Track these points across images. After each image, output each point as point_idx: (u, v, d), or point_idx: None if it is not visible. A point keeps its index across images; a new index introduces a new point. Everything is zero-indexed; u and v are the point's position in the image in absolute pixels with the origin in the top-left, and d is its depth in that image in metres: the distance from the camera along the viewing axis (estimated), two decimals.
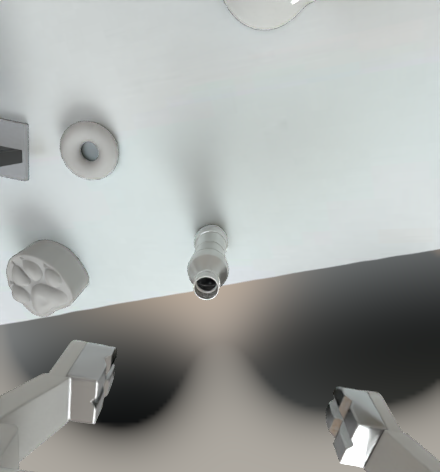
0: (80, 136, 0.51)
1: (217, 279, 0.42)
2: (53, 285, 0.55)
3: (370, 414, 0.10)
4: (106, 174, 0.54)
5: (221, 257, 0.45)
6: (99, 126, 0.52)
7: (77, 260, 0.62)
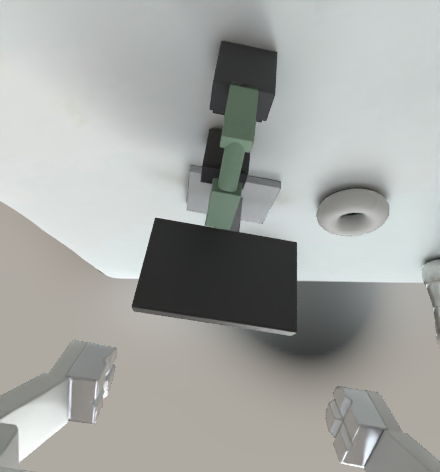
0: (353, 212, 0.43)
1: None
2: None
3: (370, 414, 0.10)
4: None
5: None
6: (380, 201, 0.41)
7: None
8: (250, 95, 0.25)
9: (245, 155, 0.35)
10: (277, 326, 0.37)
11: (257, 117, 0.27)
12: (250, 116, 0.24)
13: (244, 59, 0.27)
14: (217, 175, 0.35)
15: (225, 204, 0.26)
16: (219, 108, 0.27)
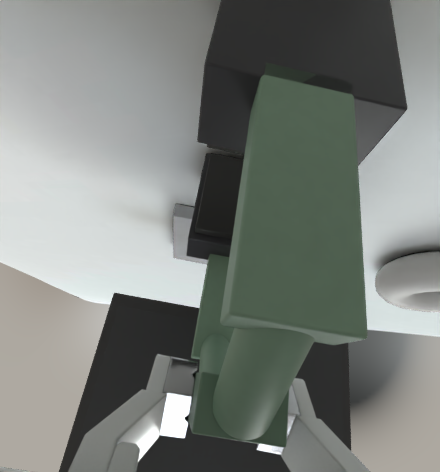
0: None
1: None
2: None
3: None
4: None
5: None
6: None
7: None
8: (330, 113, 0.07)
9: None
10: None
11: None
12: (340, 203, 0.06)
13: None
14: (218, 251, 0.18)
15: None
16: (224, 140, 0.10)
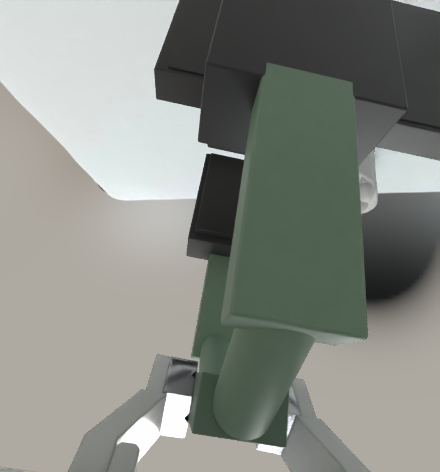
0: None
1: None
2: (366, 201, 0.43)
3: None
4: None
5: None
6: None
7: (373, 151, 0.45)
8: (330, 113, 0.07)
9: None
10: None
11: None
12: (341, 203, 0.06)
13: None
14: (218, 251, 0.18)
15: None
16: (225, 140, 0.10)
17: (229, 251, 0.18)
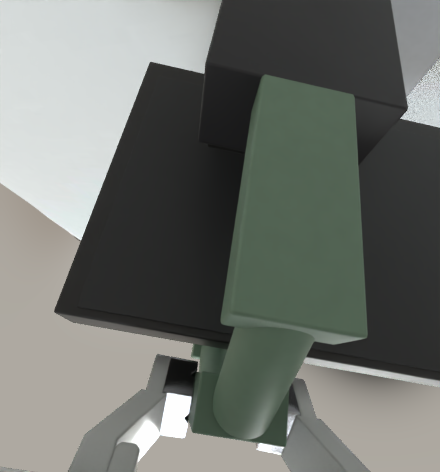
0: None
1: None
2: None
3: None
4: None
5: None
6: None
7: None
8: (330, 113, 0.07)
9: None
10: None
11: None
12: (340, 202, 0.06)
13: None
14: None
15: None
16: (225, 140, 0.10)
17: None
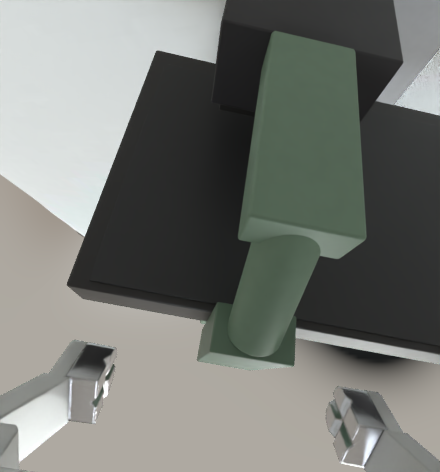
0: None
1: None
2: None
3: (370, 414, 0.10)
4: None
5: None
6: None
7: None
8: (334, 63, 0.08)
9: None
10: None
11: None
12: (343, 135, 0.07)
13: None
14: None
15: (246, 362, 0.10)
16: (236, 99, 0.10)
17: None
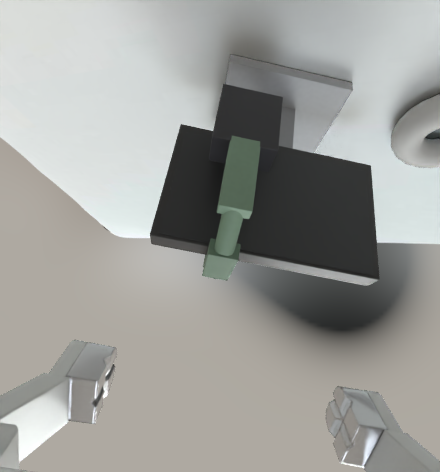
0: None
1: None
2: None
3: (370, 414, 0.10)
4: None
5: None
6: None
7: None
8: (251, 152, 0.23)
9: None
10: (352, 269, 0.26)
11: (259, 169, 0.26)
12: (250, 179, 0.22)
13: (247, 107, 0.25)
14: None
15: (222, 264, 0.25)
16: (219, 159, 0.26)
17: None
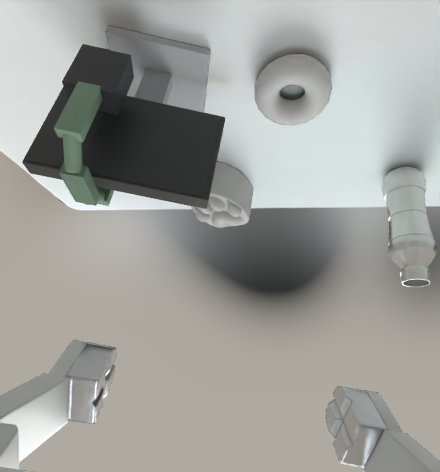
0: (289, 83, 0.38)
1: (429, 277, 0.44)
2: (236, 216, 0.59)
3: (370, 414, 0.10)
4: (307, 120, 0.43)
5: (434, 247, 0.45)
6: (317, 67, 0.36)
7: (245, 179, 0.61)
8: (91, 93, 0.30)
9: None
10: (186, 192, 0.33)
11: (110, 111, 0.33)
12: (84, 112, 0.29)
13: (97, 61, 0.32)
14: None
15: (76, 183, 0.32)
16: None
17: None
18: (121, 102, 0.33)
